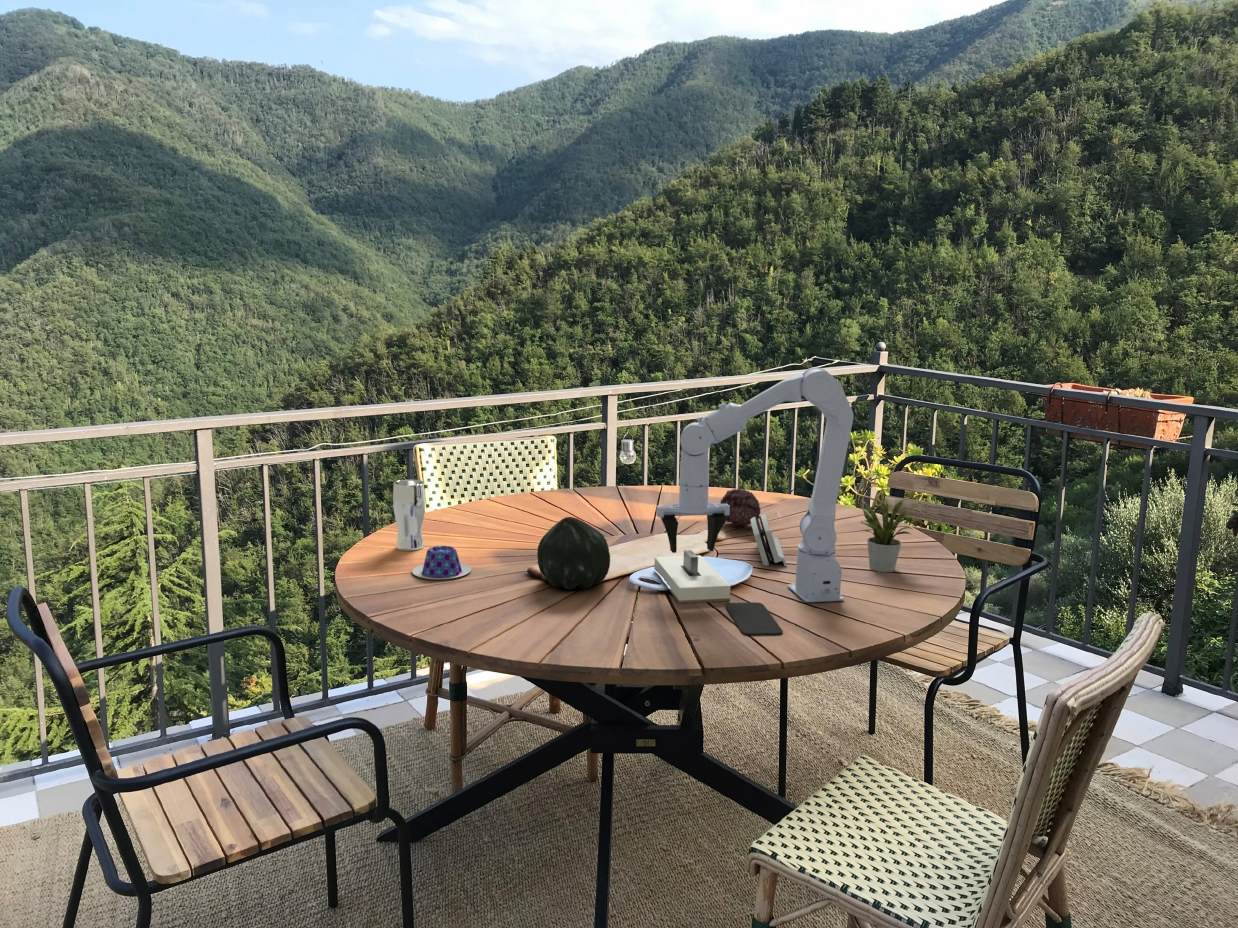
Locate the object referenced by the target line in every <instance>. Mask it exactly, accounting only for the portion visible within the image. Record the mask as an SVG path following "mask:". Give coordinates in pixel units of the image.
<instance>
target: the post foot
mask: <svg viewBox="0 0 1238 928" xmlns="http://www.w3.org/2000/svg"><path fill="white" fill-rule="evenodd" d="M696 556H697V557H698V574H697V576H689V575H688V574H687V573H686V572H685V571H684V570H683V562H684V555H676V556H675V555H673V556H655V557H654V565H653V566H654V568H653V569H655V570H656V571H657V572H658V573H659V574H660V575H661V576H662V577H663V578H664V580H665V581H666V582H667V584H668V585H669V586H670V588H671V590H670V591H669V592H670V593H671V595H672V596H673V597H674V598H675V600H676V601H677V603H678V604H686V603H687V604H688V603H689V604H692V603H693V604H694V603H707V602H708V603H709V602H711V603H712V602H729V601H731V585H730V584H729V583H728V581H726V580H725V579H724V577H722V576H721V575H720V573H719V572H718V571H717V570H716V569H715V568H714V567H713V566H711V565H710V563H709V562H708V561H707V560H706V559H704V558H703V557H702V556H701V555H700V554H698V555H696Z"/></svg>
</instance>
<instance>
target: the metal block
mask: <svg viewBox="0 0 1238 928" xmlns="http://www.w3.org/2000/svg"><path fill="white" fill-rule="evenodd" d="M683 556H684V562H683V570H684V571H685V572H686V573H687V574H688V575H689V576H697V574H698V557H697V555H696V554H695V553H694V551H693V550H691V549H683Z"/></svg>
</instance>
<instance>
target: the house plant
mask: <svg viewBox="0 0 1238 928" xmlns="http://www.w3.org/2000/svg"><path fill="white" fill-rule="evenodd" d="M875 499H877V501H878V503H879V504H880V509H881V518H882V524H881V523H880V521H879V518H878V515H877V514H876V512H875V510H874V509H873V508H872V507H871V505H869V504H868V503H866V502H865V501H864V500H862V499H860V502H862V503H863V504H864V505H865V506H866V507H867V508H866V507H861V508H862V509H861V510H862V512H863V515H864V518H865V520H862V521H860V524H862V525H865V526H867V527H869V528H871V529H872V531H873V532H872V531H871V530H869V529H864V530H863V532H868V533H871V534H872V535H873V536H871V537H868V538H867V541H866V542H867V551H868V563H869V569H870V570H872V571H874V572H879V573H893V572H895V570H896V566H897V561H898V557H899V554H900V550H901V547H902V542H901V540H900V539H897V538H895V537H896V536H897V535H903V534H904V535H905V534H906V535H907V534H908V535H911V533H910V532H909V531H903V530H907V529H910V530H913V528H912V527H911V526H905V527H901V528H900V529H899V530H898V531H897V532H896V529H897V527H898V526H899V524H900V523H901V522H902V521H903V520H904V519H905V517H906V516H907V515H908V514H910V513H911V512H912V511H914V510H916V509H920V508H922V506H915V507H913V508H912V507H911V506H907V507H905V508H904V509H903V510H902V511H901V512H900V514H899V515H898V516H897V517H896V515H897V513H898V511H899V509H901V507H902V506H905V505H908V504H905V503H904V502H905V501H907V500H908V498H903V499H901V500H900V501H899V502H898V503H896V505H894V507H893V509H892V512H891V515H890V517H889V503H888V500H887V498H886V497H884V500H885V502H883V500H881V499H880V498H879V497H877V496H875ZM910 508H911V509H910ZM895 518H896V519H895ZM895 532H896V533H895Z"/></svg>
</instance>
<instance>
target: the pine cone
mask: <svg viewBox="0 0 1238 928" xmlns="http://www.w3.org/2000/svg"><path fill="white" fill-rule="evenodd" d="M719 504H728V505H729V506H730V515H724V517H726V521H725V522H728V523H731V525H732V526H734V527H735V526H739V527H741V526H744V527H748V525H751V520H750V519H752V518H753V517H757V518H758V520H760V519H759V517H760V516H761V507H760V503H759V500H758V499H757V497H756V496H755V494H754V493H753V492H750V491H749V490H746V489H745V488H740V487H738V488H737V489H736V488H735V489H734V488H733V489H731V490H729V489H728V490H727V491H726V493H725V494H724V496H723V497H722V499H720V503H719Z"/></svg>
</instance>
